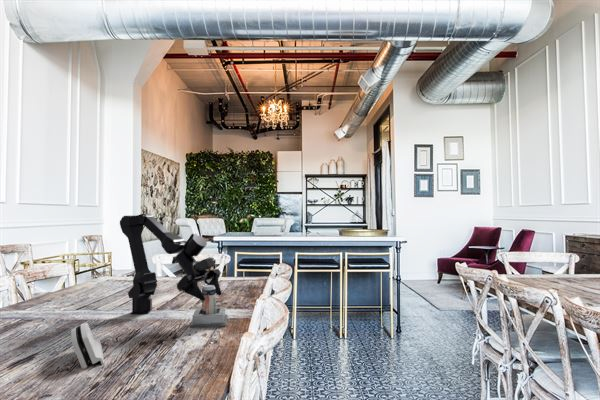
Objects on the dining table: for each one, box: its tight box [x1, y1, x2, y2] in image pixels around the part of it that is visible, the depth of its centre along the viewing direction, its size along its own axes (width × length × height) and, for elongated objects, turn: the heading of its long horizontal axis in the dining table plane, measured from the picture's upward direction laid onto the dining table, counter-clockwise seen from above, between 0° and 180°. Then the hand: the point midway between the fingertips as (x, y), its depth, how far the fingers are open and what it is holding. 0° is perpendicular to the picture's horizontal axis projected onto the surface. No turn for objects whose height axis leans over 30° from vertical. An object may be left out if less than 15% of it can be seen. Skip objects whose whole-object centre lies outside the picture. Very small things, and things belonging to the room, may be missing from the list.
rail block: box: [189, 306, 228, 329], centre depth 136 cm, size 12×12×4 cm
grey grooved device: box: [70, 322, 105, 369], centre depth 104 cm, size 17×5×10 cm, turn 30°
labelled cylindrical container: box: [201, 284, 217, 314], centre depth 136 cm, size 5×5×12 cm
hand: (212, 297), depth 136 cm, fingers open, 9 cm apart
